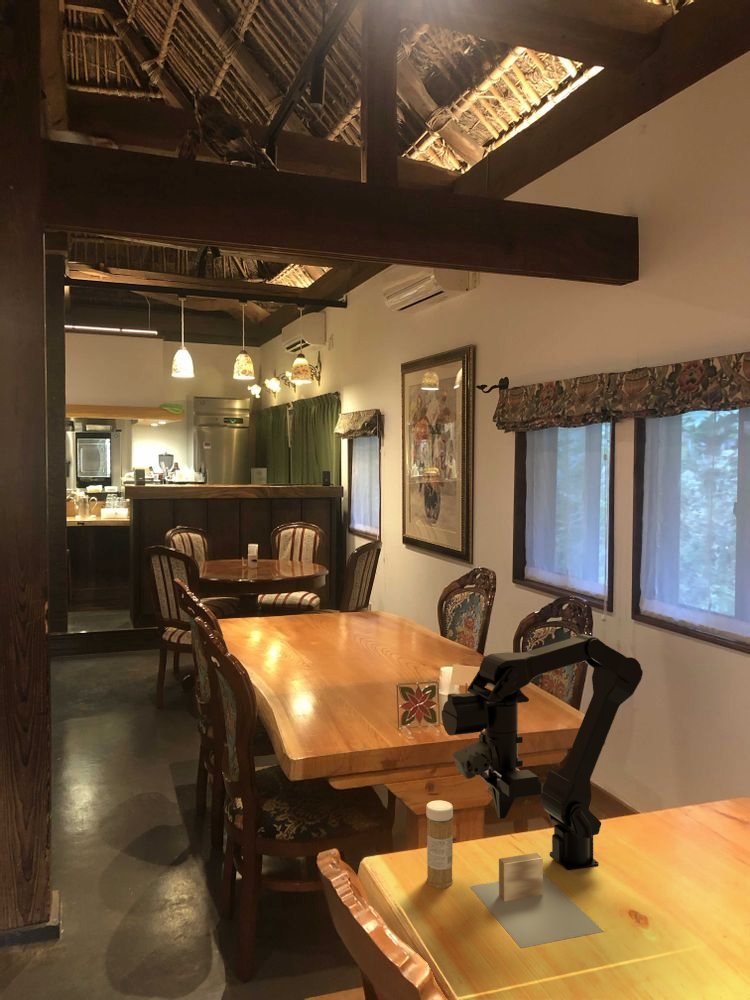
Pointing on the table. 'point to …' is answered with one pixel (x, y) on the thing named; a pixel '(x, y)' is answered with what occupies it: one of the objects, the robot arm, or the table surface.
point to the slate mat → (537, 915)
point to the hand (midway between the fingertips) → (501, 817)
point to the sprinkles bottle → (439, 843)
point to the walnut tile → (520, 876)
